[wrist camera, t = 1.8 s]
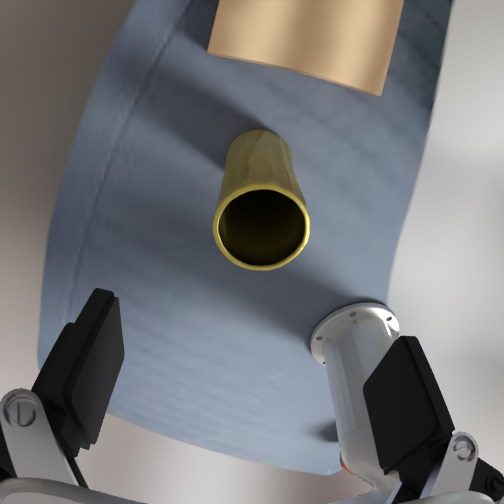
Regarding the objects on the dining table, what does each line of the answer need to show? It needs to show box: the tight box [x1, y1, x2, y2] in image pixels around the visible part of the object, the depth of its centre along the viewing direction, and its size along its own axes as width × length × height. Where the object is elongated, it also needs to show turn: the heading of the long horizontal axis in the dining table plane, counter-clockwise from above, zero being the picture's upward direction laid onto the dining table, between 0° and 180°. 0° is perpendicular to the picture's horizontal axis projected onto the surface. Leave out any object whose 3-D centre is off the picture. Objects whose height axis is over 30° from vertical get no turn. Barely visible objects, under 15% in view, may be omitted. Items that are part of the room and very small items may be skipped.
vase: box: [212, 129, 310, 270], centre depth 23 cm, size 6×6×14 cm
